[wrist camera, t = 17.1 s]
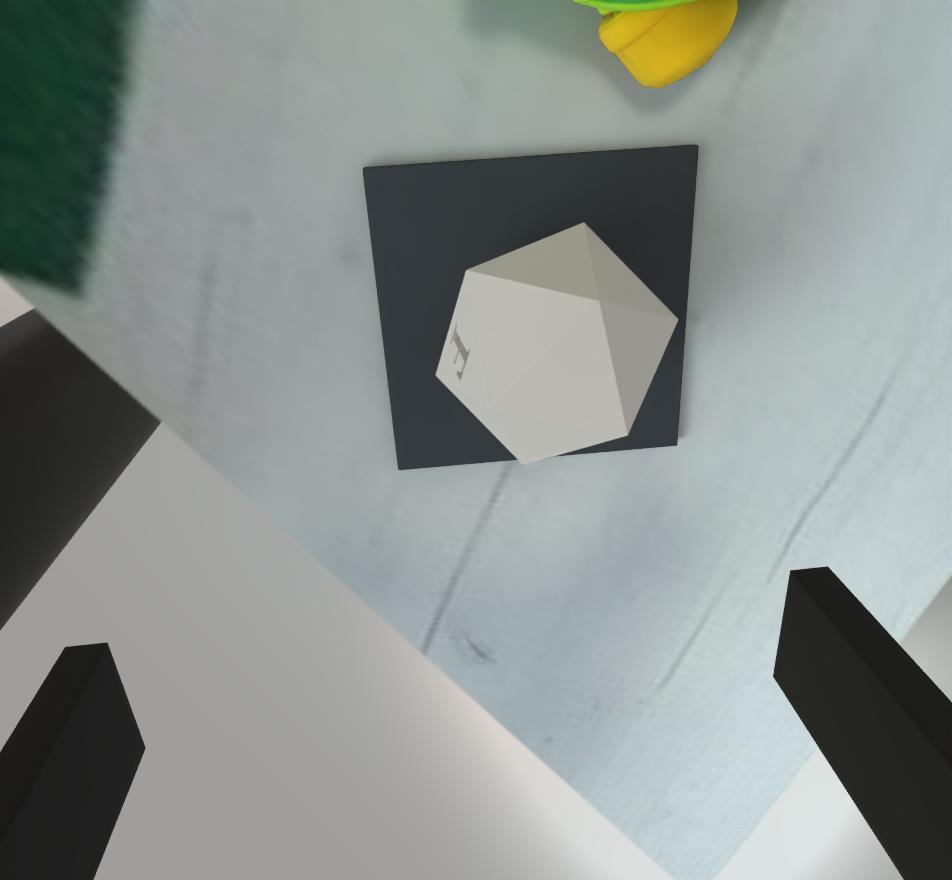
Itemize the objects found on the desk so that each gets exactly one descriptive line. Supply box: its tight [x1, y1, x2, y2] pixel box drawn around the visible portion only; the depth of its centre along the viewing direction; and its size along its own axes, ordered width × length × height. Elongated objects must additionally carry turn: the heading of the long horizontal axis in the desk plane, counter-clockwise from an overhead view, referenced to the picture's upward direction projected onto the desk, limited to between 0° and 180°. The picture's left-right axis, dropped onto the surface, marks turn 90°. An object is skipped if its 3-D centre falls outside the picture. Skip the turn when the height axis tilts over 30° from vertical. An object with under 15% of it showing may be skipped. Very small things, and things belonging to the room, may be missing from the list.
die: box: [436, 223, 678, 465], centre depth 29 cm, size 8×9×10 cm
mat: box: [363, 145, 698, 470], centre depth 33 cm, size 14×14×1 cm
